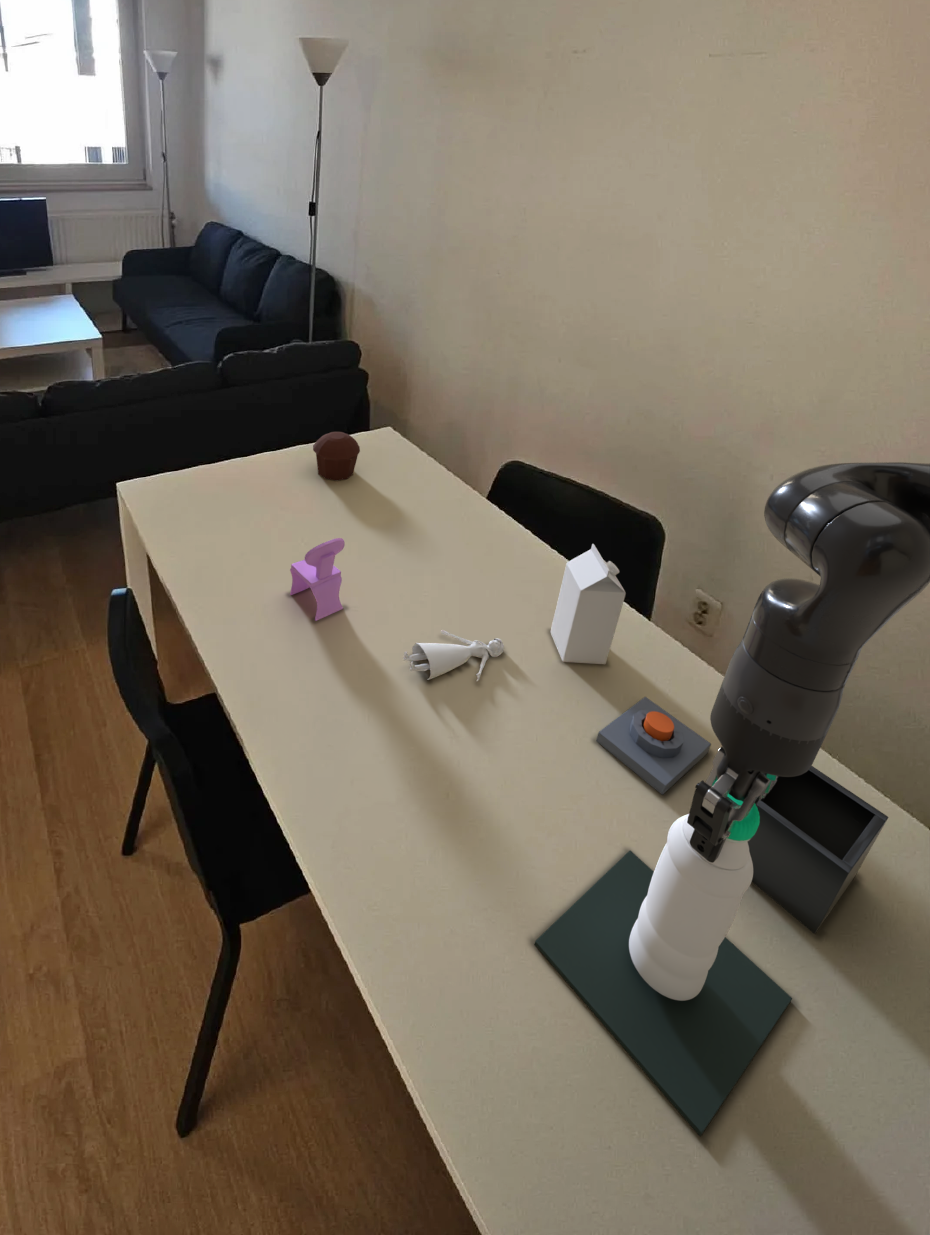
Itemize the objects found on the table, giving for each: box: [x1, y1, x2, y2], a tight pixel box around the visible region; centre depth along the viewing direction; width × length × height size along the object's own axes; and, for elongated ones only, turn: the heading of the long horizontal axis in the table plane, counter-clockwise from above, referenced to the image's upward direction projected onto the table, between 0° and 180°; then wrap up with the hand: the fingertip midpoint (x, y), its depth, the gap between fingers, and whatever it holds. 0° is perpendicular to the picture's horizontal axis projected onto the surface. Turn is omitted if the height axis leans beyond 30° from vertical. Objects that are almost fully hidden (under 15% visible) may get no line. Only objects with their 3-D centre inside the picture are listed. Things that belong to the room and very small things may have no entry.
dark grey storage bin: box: [748, 765, 889, 934], centre depth 81 cm, size 11×11×11 cm
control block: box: [595, 696, 712, 796], centre depth 97 cm, size 12×10×4 cm
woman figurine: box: [402, 629, 505, 682], centre depth 111 cm, size 12×4×18 cm
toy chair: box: [289, 537, 346, 622], centre depth 120 cm, size 8×9×15 cm
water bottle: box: [629, 794, 760, 1001], centre depth 66 cm, size 7×7×25 cm
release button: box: [643, 711, 674, 741], centre depth 96 cm, size 4×4×2 cm
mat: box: [533, 850, 793, 1137], centre depth 72 cm, size 18×18×1 cm
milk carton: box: [550, 543, 627, 665], centre depth 111 cm, size 7×7×19 cm
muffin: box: [312, 431, 361, 482], centre depth 166 cm, size 12×11×10 cm
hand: (718, 834), depth 63 cm, fingers closed on water bottle, 5 cm apart
